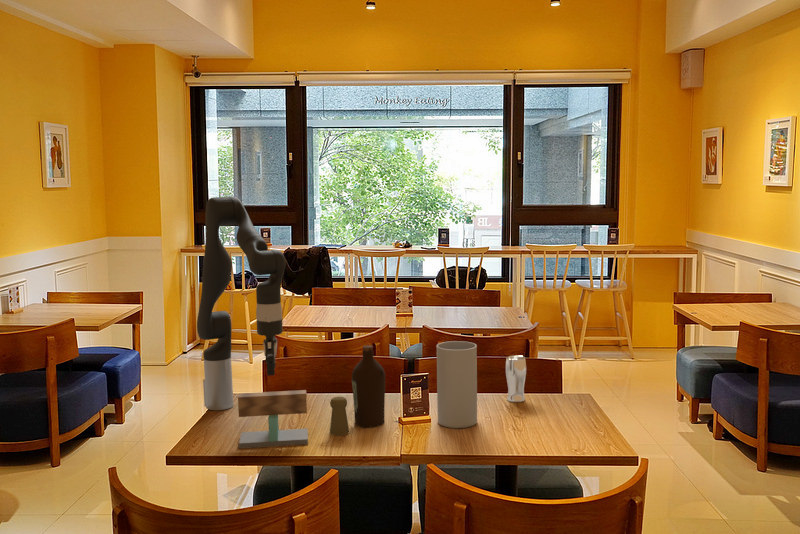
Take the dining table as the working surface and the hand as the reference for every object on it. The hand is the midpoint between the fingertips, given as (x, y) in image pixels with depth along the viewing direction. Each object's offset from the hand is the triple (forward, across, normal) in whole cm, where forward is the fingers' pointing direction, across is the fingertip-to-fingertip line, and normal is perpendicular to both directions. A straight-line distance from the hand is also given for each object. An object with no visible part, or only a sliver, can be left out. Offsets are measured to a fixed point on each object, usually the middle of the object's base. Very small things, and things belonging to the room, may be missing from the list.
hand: (271, 371), depth 235 cm
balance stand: (+21, 0, 0) cm, 21 cm away
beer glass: (+22, -27, +82) cm, 89 cm away
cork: (+22, -4, +20) cm, 30 cm away
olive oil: (+22, -11, +30) cm, 38 cm away
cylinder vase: (+21, -6, +57) cm, 61 cm away
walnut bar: (+13, 0, 0) cm, 13 cm away
